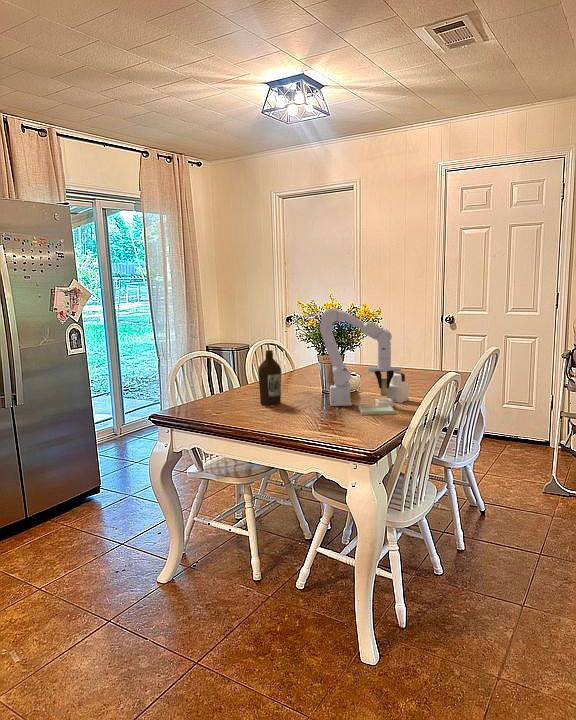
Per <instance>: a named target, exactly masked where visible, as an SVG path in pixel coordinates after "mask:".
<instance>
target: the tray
mask: <svg viewBox="0 0 576 720" xmlns="http://www.w3.org/2000/svg"><path fill="white" fill-rule="evenodd" d="M357 409H358V411H359V413H360V415H362V416H367V415H368V414H370V415H371V416H372V414H373V415H374V414H379V415H395V413H396V411H395V409H394V407H393V408H392V407H391V406H390V405H382V406H376V405H358V407H357ZM370 415H368V416H370ZM374 416H375V415H374Z"/></svg>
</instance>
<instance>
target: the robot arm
mask: <svg viewBox="0 0 576 720" xmlns="http://www.w3.org/2000/svg"><path fill="white" fill-rule="evenodd" d="M339 322H341V323H342V322H346V323H347V324H350V325H352V326H355V327H356V328H358V329H360V330H361V332H362V333H363V335H366V336H368V337H369V338H371V339H373V340H376V341H377V344H378V345H377V346H378V347H377V366H373V367H372V366H371V367H366V368H367V373H374V375H375V377H376V380H377V384H378V389H381V379H382V375H383V374H382V373H385V372H386V379H387V388H389V385H390V384H391V379H392V377H393V375H394V373H402V372H401V371H402V368H401V366H392V365H391V363H392V362H391V361H392V347H391V345H392V344H391V341H392V338H393V336H392V333H391V332H390V331H389V330H388V329H384V327H380V326H378V325H376V324H375V322H374V321H367V322H365V321H362V319H359V318H358V317H356V316H354V315H352V314H350V313H349V312H347V311H345V310H342V309H339V308H337V307H332V308H327V309H326V310H325V311H324V313H323V314H322V315H321V321H320V327H319V332H320V334H321V335H320V336H321V337H322V341H323V343H324V346H325V349H326V351H327V355H328V357H329V361H330V364H331V366H332V373H333V377H332V378H333V380H332V381H333V382H334V384H333V385H332V384H331V385H329V404H330V406H331V407H339V406H340V407H342V406H343V407H344V406H345V407H346V406H350V407H351V406H353V403H352V402H351V383H350V380H351V378H352V374H351V372H350V370H349V369H348V368H347V366H346V364H345V363H344V361H343V358H342V356H341V353H340V351H339V347H338V344H337V341H336V339H335V336H334V333H333V329H334V327H335V326H336V324H337V323H339Z"/></svg>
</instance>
